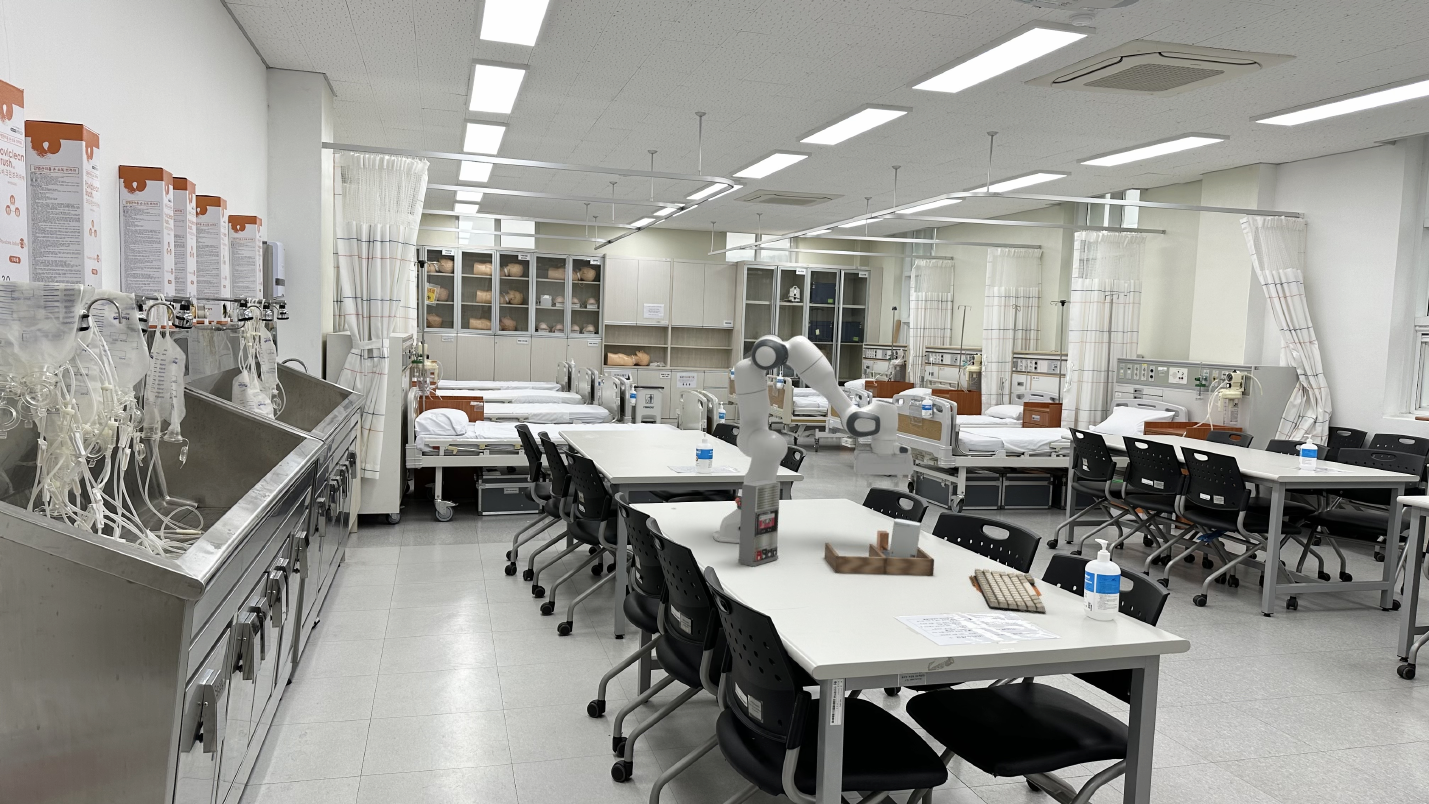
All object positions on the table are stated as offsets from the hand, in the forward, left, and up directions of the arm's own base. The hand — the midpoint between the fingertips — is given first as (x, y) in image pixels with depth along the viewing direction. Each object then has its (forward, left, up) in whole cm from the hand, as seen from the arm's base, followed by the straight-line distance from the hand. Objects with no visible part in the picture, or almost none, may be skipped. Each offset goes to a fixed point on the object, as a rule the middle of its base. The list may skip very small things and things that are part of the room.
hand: (882, 487), depth 307 cm
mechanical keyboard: (+25, -53, -22) cm, 63 cm away
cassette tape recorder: (-44, -24, -22) cm, 55 cm away
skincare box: (+1, -27, -21) cm, 35 cm away
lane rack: (-7, -25, -21) cm, 34 cm away
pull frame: (0, -17, -21) cm, 27 cm away
